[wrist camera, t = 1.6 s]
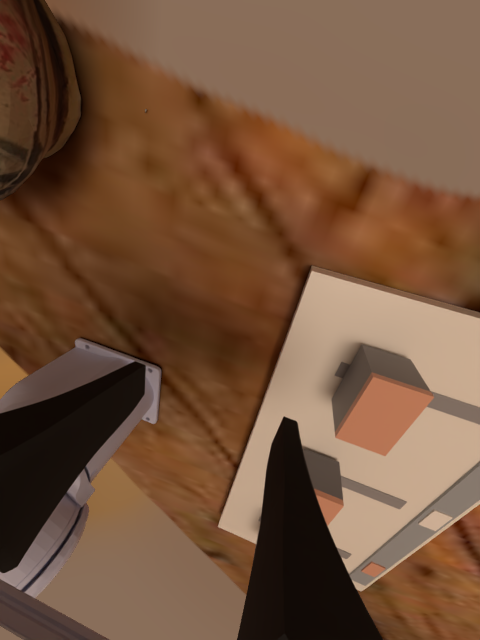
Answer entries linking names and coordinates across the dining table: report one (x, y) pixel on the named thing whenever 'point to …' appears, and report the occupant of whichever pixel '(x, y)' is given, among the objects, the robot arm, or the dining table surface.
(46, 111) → the ceramic jug
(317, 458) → the switch middle
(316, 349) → the switch unit
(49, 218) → the dining table surface
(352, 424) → the switch
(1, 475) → the robot arm
